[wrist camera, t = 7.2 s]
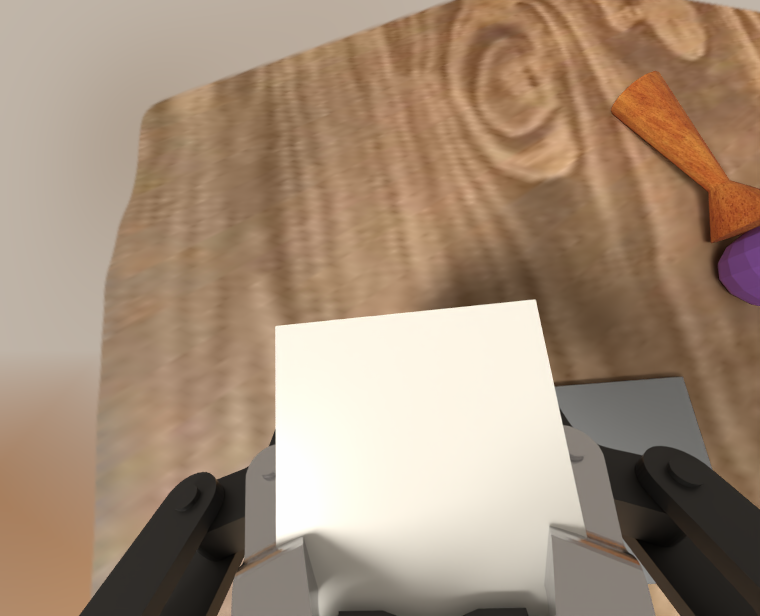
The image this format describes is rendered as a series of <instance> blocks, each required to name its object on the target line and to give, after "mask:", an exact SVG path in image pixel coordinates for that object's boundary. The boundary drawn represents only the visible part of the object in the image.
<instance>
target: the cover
mask: <svg viewBox="0 0 760 616" xmlns="http://www.w3.org/2000/svg"><path fill="white" fill-rule="evenodd" d="M275 336H276V547H278V546H280V545H282V544H284V543H286V542H289V541H291V540H293V539H295V538H298V537H301V536H303V537H304V541H305V544H306V548H307V551H308V555H309V558H310V562H311V565H312V569H313V572H314V576H315V580H316V583H317V587H318V590H319V592H318V607H319V616H338V614H339V611H377V610H383V611H386V612H388V613H391V614H394V615H396V616H463V615H465V614H467V613H469V612H472V611H474V610H476V609H486V608H526V609H527V613H528V616H549V613H548V602H547V595H546V590H545V587H544V581H545V569H546V557H547V546H548V534H549V526H553V527H557V528H560V529H564V530H567V531H570V532H573V533H577V534H580V535H582V536H585V537H587V535H586V530H585V526H584V521H583V516H582V512H581V507H580V503H579V498H578V493H577V489H576V484H575V479H574V475H573V470H572V466H571V461H570V456H569V452H568V447H567V443H566V438H565V433H564V429H563V424H562V419H561V415H560V410H559V406H558V401H557V396H556V392H555V387H554V382H553V378H552V373H551V369H550V364H549V359H548V355H547V350H546V345H545V341H544V336H543V332H542V327H541V322H540V318H539V313H538V309H537V304H536V299H535V300H525V301H515V302H506V303H496V304H486V305H476V306H467V307H457V308H447V309H438V310H428V311H418V312H409V313H399V314H389V315H379V316H370V317H360V318H350V319H341V320H331V321H321V322H311V323H302V324H292V325H282V326H275Z"/></svg>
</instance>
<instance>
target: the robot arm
mask: <svg viewBox="0 0 760 616" xmlns="http://www.w3.org/2000/svg"><path fill="white" fill-rule="evenodd" d="M559 410H560V415H561V419H562V424H563V429H564V433H565V438H566V443H567V447H568V452H569V456H570V461H571V466H572V470H573V475H574V479H575V484H576V489H577V493H578V498H579V503H580V507H581V512H582V516H583V521H584V526H585V530H586V535H587V537H585V536H582V535H580V534H577V533H573V532H570V531H567V530H564V529H560V528H557V527H553V526H549V534H548V546H547V557H546V569H545V581H544V587H545V590H546V595H547V602H548V613H549V616H655V612H654V608H653V604H652V600H651V596H650V592H649V588H648V584H647V581H646V577H645V575H644V572H643V569H642V567H641V565H640V563H639V561H640V562H641V564H642V565H643V566H644V568H645V569H646V570H647V572H648V573H649V574H650V576H651V577H652V578H653V580H654V581H655V582H656V584H657V585H658V586H659V588H660V589H661V590H662V592H663V593H664V594H665V596H666V597H667V598H668V600H669V601H670V602H671V604H672V605H673V606H674V608H675V609H676V610H677V612H678V613H679V614H680V616H760V510H759V509H758V508H757V507H756V506H755V505H753V504H752V503H751V502H750V501H749V500H748V499H746V498H745V497H744V496H743V495H742V494H740V493H739V492H738V491H737V490H736V489H735V488H733V487H732V486H731V485H730V484H729V483H727V482H726V481H725V480H724V479H723V478H722V477H720V476H719V475H718V474H717V473H716V472H714V471H713V470H712V469H711V468H710V467H708V466H707V465H706V464H705V463H703V462H702V461H700V460H699V459H697V458H696V457H694V456H692V455H690V454H688V453H686V452H684V451H681V450H678V449H676V448H672V447H667V446H653V447H651V448H649V449H647V450H646V451H645V453H644V454H643V455H639V454H634V453H630V452H625V451H621V450H616V449H612V448H608V447H604V446H601V445H599V444H597V443H596V442H595V441H594V440H593V439H592V438H590V437H589V436H588V435H587V434H585V433H584V432H582V431H580V430H578V429H576V428H573V427H572V425H571V424H570V423H569V421H568V420H567V418H566V417H565V415H564V414H563V412H562V410H561V409H560V407H559ZM622 538H623V539H622ZM623 540H624V541H625V542H626V544H627V545H628V546H629V548H630V549H631V550H632V552H633V553H634V554H635V556H636V557H637V558H638V560H639V561H638V560H637V559H636V557H635V556H634V555H632V554H630V553H629V552H628V551H627V549H626V547H625V545H624V542H623ZM243 558H244V561H243V564H242V565H241V566H240V564H241V562H242V560H243ZM239 566H240V567H239ZM233 580H234V581H233ZM232 582H233V589H232V610H231V616H319V607H318V592H319V590H318V587H317V583H316V580H315V576H314V572H313V569H312V565H311V562H310V558H309V555H308V551H307V548H306V544H305V541H304V537H303V536H301V537H298V538H295V539H293V540H291V541H289V542H286V543H284V544H282V545H280V546H278V547H276V429H275V432H274V434H273V437H272V440H271V442H270V445H269V447H267V448H265V449H264V450H262V451H261V452H260V453H259V454H258V455H257V456H256V457H255V458H254V459H253V461H252V462H251V464H250V465H249V467H247V468H245V469H243V470H240V471H237V472H235V473H232V474H230V475H227V476H225V477H222V478H220V479H216V478H215V477H214V476H213V475H212V474H210V473H207V472H201V473H197V474H194V475H191V476H189V477H188V478H186V479H184V480H183V481H182V482H180V483H179V484H178V485H177V486H176V487H175V488H174V489H173V490H172V491H171V492H170V493H169V495H168V496H167V497H166V499H165V500H164V501H163V503H162V504H161V505H160V507H159V508H158V510H157V511H156V512H155V514H154V515H153V516H152V518H151V519H150V520H149V522H148V523H147V524H146V526H145V527H144V528H143V530H142V531H141V533H140V534H139V535H138V537H137V538H136V539H135V541H134V542H133V543H132V545H131V546H130V547H129V549H128V550H127V552H126V553H125V554H124V556H123V557H122V558H121V560H120V561H119V562H118V564H117V565H116V566H115V568H114V569H113V570H112V572H111V573H110V575H109V576H108V577H107V579H106V580H105V581H104V583H103V584H102V585H101V587H100V588H99V589H98V591H97V592H96V594H95V595H94V596H93V598H92V599H91V600H90V602H89V603H88V604H87V606H86V607H85V608H84V610H83V611H82V613H81V614H80V615H79V616H217V615H218V612H219V610H220V608H221V606H222V604H223V601H224V599H225V597H226V595H227V593H228V590H229V588H230V586H231V584H232ZM338 616H396V615H394V614H391V613H388V612H386V611H383V610H377V611H339V614H338ZM463 616H528V613H527V609H526V608H486V609H476V610H474V611H472V612H469V613H467V614H465V615H463Z"/></svg>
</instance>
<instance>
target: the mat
mask: <svg viewBox="0 0 760 616" xmlns="http://www.w3.org/2000/svg"><path fill="white" fill-rule="evenodd" d="M554 387H555V392H556V396H557V401H558V406H559V407H560V409H561V410H562V412H563V414H564V415H565V417H566V418H567V420H568V421H569V423H570V424H571V425H572V427H573V428H576V429H578V430H580V431H582V432H584V433H585V434H587V435H588V436H589V437H590V438H592V439H593V440H594V441H595V442H596V443H597V444H599V445H601V446H604V447H608V448H612V449H616V450H621V451H625V452H630V453H634V454H639V455H643V454H644V453H645V451H646V450H647V449H649V448H651V447H653V446H667V447H672V448H676V449H678V450H681V451H684V452H686V453H688V454H690V455H692V456H694V457H696V458H697V459H699V460H700V461H702V462H703V463H705V464H706V465H707V466H708V467H710V468H711V469H712V467H711V464H710V461H709V458H708V454H707V451H706V448H705V445H704V442H703V439H702V436H701V433H700V429H699V426H698V423H697V420H696V417H695V414H694V411H693V407H692V404H691V401H690V398H689V395H688V392H687V389H686V385H685V382H684V379H683V377H667V378H654V379H641V380H628V381H616V382H603V383H590V384H577V385H565V386H554ZM622 539H623V538H622ZM623 542H624V545H625V547H626V549H627V551H628V552H629V553H630V554H632V555H634V556H635V554H634V553H633V552H632V550H631V549H630V548H629V546H628V545H627V544H626V542H625V541H624V540H623ZM635 557H636V556H635ZM636 559H637V560H638V558H637V557H636ZM638 561H639V560H638ZM639 563H640V565H641V567H642V569H643V572H644V575H645V577H646V581H647V584H656V582H655V581H654V580H653V578H652V577H651V576H650V574H649V573H648V572H647V570H646V569H645V568H644V566H643V565H642V564H641V562H640V561H639Z"/></svg>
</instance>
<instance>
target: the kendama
mask: <svg viewBox="0 0 760 616" xmlns="http://www.w3.org/2000/svg"><path fill="white" fill-rule="evenodd" d="M611 112H612V114H613V115H615V116H616V117H617V118H618V119H619V120H621V121H622V122H623V123H624V124H626V125H627V126H628V127H629V128H631V129H632V130H633V131H634V132H635V133H637V134H638V135H639V136H640V137H642V138H643V139H644V140H645V141H646V142H648V143H649V144H650V145H651V146H653V147H654V148H655V149H656V150H658V151H659V152H660V153H661V154H662V155H664V156H665V157H666V158H667V159H669V160H670V161H671V162H672V163H673V164H675V165H676V166H677V167H678V168H680V169H681V170H682V171H683V172H685V173H686V174H687V175H688V176H689V177H691V178H692V179H693V180H694V181H696V182H697V183H698V184H699V185H701V186H702V187H703V188H704V189H705V190H707V191H708V194H709V214H710V235H711V243H714V242H718V241H721V240H724V239H728V238H731V237H734V236H737V235H740V234H742V235H741V236H740V237H739V238H737V239H736V240H735V241H734V242H732V243H731V244H730V245H729V246H728V247H726V249H725V251H724V253H723V255H722V257H721V259H720V260H719V262H718V272H719V280H720V281H721V282H722V284H723V285H724V286H725V287H726V289H727V290H728V291H729V292H730V294H732V295H734V296H736V297H738V298H740V299H742V300H744V301H746V302H748V303H749V304H752V305H757V306H760V189H758V188H755V187H751V186H748V185H744V184H741V183H737V182H734V181H730V180H729V178H728V177H727V175H726V174H725V172H724V171H723V169H722V168H721V166H720V165H719V163H718V162H717V160H716V159H715V157H714V155H713V154H712V152H711V151H710V149H709V148H708V146H707V145H706V143H705V142H704V140H703V139H702V137H701V136H700V134H699V133H698V131H697V129H696V128H695V126H694V125H693V123H692V122H691V120H690V119H689V117H688V116H687V114H686V113H685V111H684V110H683V108H682V106H681V105H680V103H679V102H678V100H677V99H676V97H675V96H674V94H673V93H672V91H671V90H670V88H669V87H668V85H667V84H666V82H665V80H664V79H663V77H662V76H661V74H660V73H659V72H657V71H653V72H650V73H648V74H646V75H644V76H642V77H641V78H639V79H638V80H636V81H635V82H634V83H633V84H631V85H630V86H629V87H628V88H627V89H626V90H625V91H624V92H623V93H622V94H621V95H620V96H619V97H618V98H617V100H616V101H615V103H614V104H613V106H612V109H611Z"/></svg>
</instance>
